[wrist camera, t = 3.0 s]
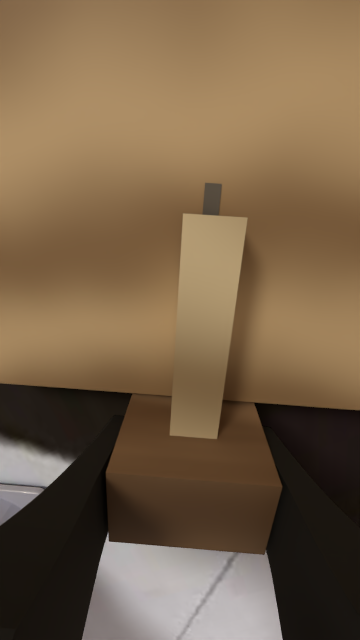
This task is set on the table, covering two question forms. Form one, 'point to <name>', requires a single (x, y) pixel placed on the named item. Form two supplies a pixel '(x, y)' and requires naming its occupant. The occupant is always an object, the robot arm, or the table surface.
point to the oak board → (180, 190)
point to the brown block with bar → (196, 422)
